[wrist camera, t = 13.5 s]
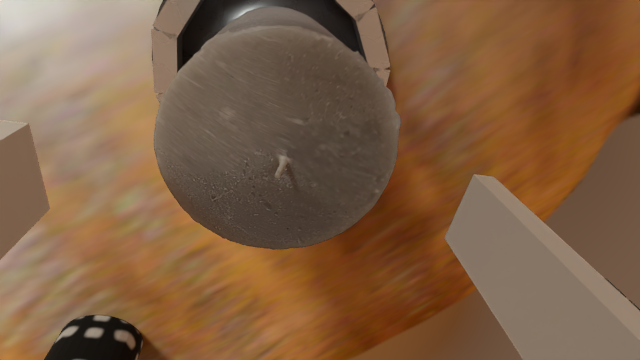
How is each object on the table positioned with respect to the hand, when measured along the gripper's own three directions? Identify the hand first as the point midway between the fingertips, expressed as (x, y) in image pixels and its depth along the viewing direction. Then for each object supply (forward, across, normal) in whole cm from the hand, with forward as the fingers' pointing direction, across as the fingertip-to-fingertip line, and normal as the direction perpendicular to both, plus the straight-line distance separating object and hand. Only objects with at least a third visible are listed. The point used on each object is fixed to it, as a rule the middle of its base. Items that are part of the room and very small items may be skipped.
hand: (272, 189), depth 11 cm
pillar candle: (+17, 0, 0) cm, 17 cm away
